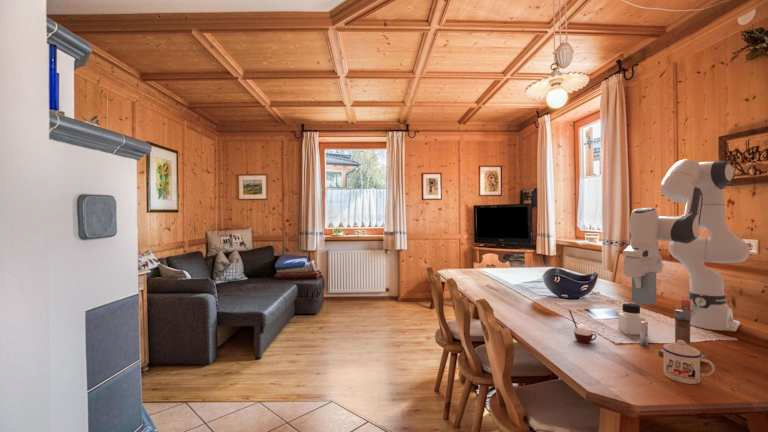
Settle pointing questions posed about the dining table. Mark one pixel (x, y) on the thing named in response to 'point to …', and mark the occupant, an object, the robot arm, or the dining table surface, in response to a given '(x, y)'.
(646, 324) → the cap post
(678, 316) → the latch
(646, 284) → the grey blue rectangular block
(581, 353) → the dining table surface
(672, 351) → the teacup with lid
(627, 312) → the medicine bottle
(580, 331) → the brown and white cup
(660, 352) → the post
